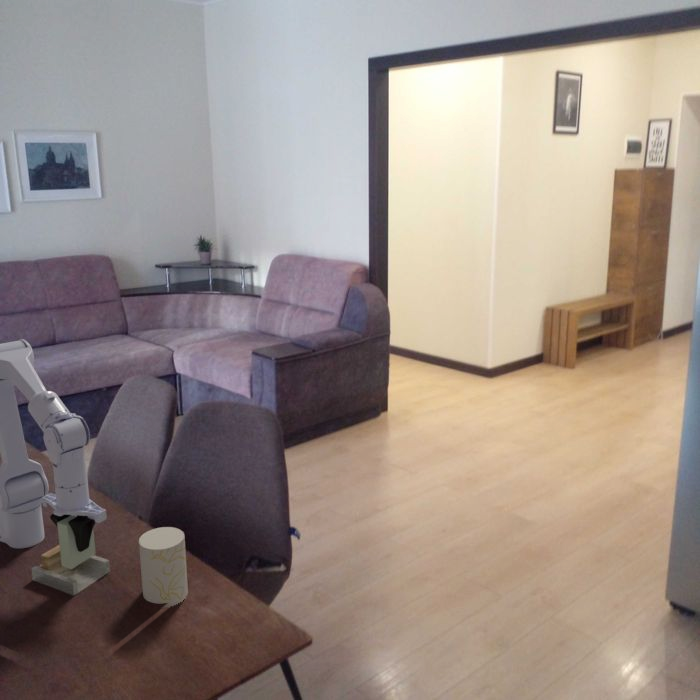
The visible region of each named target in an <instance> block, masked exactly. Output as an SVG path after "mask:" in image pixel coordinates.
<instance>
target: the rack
mask: <svg viewBox="0 0 700 700" xmlns="http://www.w3.org/2000/svg"><path fill="white" fill-rule="evenodd" d="M110 567H111V565H110V560H109V559H107V558H103V557H101V556H98V555H96V554H95V555H93V556H92V557H90V558H89V559H87V560H85V561H84V562H82V563H80V564H79V565H77V566H76V567H74V568H72V569H69V568H68V569H66V570H65V571H63V572H61V573H60V574H57V573H54V572H51V571H48V570H46V569H43V568H40V567H39V566H38V565H35V566H33V567H31V570H30V571H31V577H32V581H33V582H37V583H38V584H42V585H45V586H47V587H50V588H52V589H55V590H58V591H61V592H63V593H66V594H68V595H71V596H76V595H77V594H79V593H80V592H82V591H84V589H86V588H88V587H89V586H91V585H92V584H94V583H95V582H96V581H99V580H100V579H101V578H103V577H104V576H106V575H107V574H109V573H110V572H111V568H110Z"/></svg>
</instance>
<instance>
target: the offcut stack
mask: <svg viewBox="0 0 700 700" xmlns="http://www.w3.org/2000/svg"><path fill="white" fill-rule="evenodd" d="M40 556H41V564H40V565H39V566H38V567H40V568H43V569H46V570H48V571H51V572H54V573H57V574H60V573H61V572H63V571H65V570H66V569H68V568H66V567H64V566H62V563H61V554H60V545H59V544H58V545H56V546H55V547H53V548H51V549H49V550H47V551H46V552H44V553H42V554H41V555H40Z"/></svg>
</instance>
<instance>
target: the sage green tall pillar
mask: <svg viewBox="0 0 700 700" xmlns="http://www.w3.org/2000/svg"><path fill="white" fill-rule="evenodd" d="M75 517H77V515H71V516H69V517H67V518H65V519H63V520H61V521H59V522H58V523H57V526H58V528H57V534H58V543H59V544H58V545H60V554H61V563H62V566H64V567H66V568H69V569H72V568H74V567H76V566H77V565H79V564H80V563H82V562H84V561H85V560H87V559H89V558H90V557H92V556H93V555H95V556H96V544H95V543H96V542H95V534H94V531H95V530H94V529H93V530H92V534H91V538H90V543H89V548H87V549H85V550H84V551H82V552H79V551H78V549H77V546H76V540H75V536H74V533H73V530H72V528H71V527H70V525H69V524H68V521H70V520H72V519H74V518H75ZM57 526H56V527H57Z"/></svg>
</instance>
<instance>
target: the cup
mask: <svg viewBox="0 0 700 700" xmlns="http://www.w3.org/2000/svg"><path fill="white" fill-rule="evenodd" d="M185 539H186V537H185V532H184V531H182V530H181V529H179V528H177V527H173V526H162V527H157V528H156V527H155V528H152V529H150V530H148V531H146V532H144V533H143V534H142V535H141V536H140V537H139V539H138V548H139V559H140V562H139V563H140V571H141V573H140V574H141V585H142V586H141V587H142V595H143V598H144V599H145V601H147V602H150V603H153V604H158V605H159V604H160V605H162V604H165V605H163V606H162V607H161V609H166V608H165V607H168V608H171V607H170V606H172V607H175V606H177V605H179V604H181V603H182V602H183V600H184V599H185V600H186V598H187V597H188V595H187V594H189V590H188V588H189V587H188V572H187V571H188V570H187V556H186V541H185ZM186 596H187V597H186ZM185 600H184V601H185ZM180 602H181V603H180ZM178 603H179V604H178ZM176 604H177V605H176ZM174 605H175V606H174Z"/></svg>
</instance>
